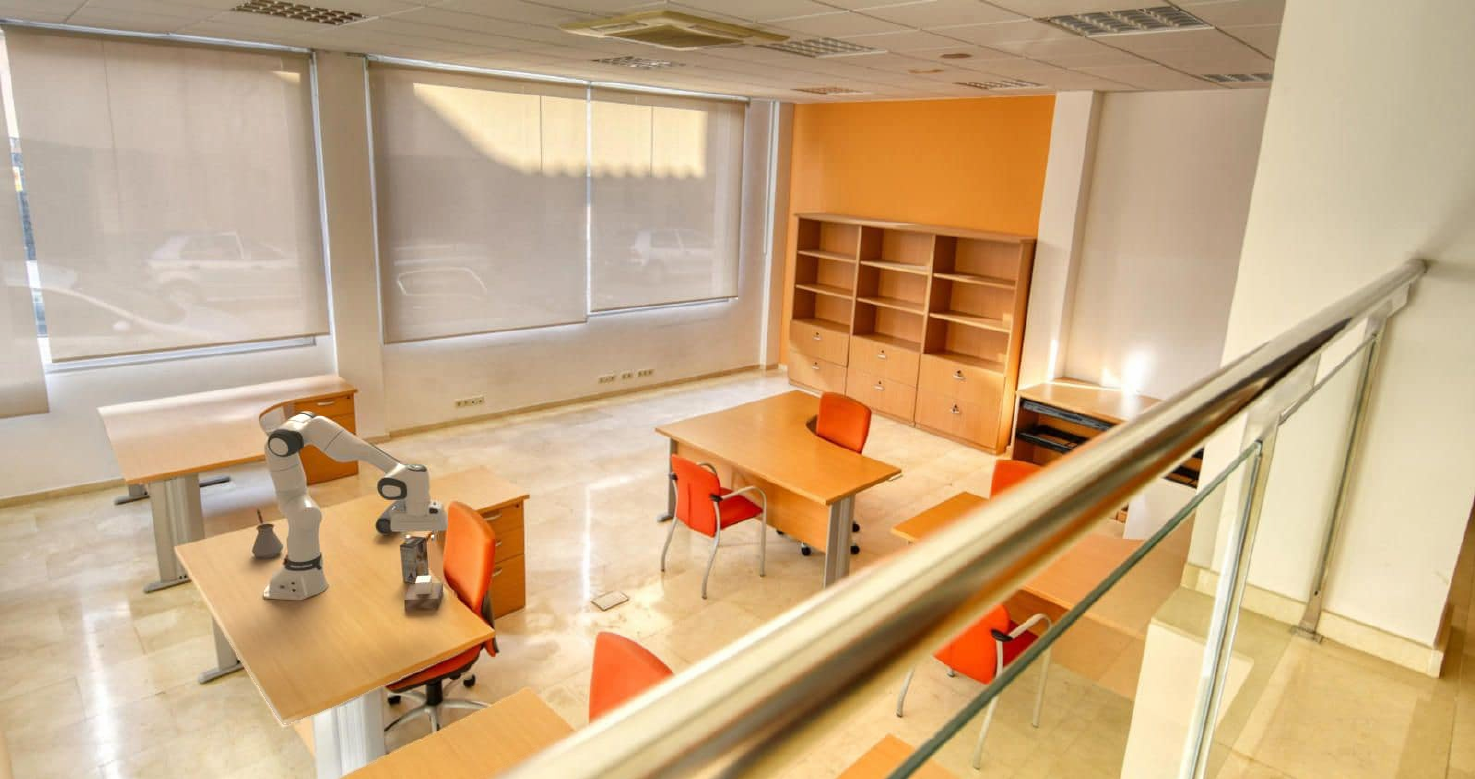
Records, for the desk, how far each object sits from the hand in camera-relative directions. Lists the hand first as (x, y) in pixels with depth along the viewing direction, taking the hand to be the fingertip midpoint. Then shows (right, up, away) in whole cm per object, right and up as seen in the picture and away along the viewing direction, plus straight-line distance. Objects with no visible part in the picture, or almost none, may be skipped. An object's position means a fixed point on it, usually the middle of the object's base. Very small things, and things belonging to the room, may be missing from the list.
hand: (420, 540), depth 327 cm
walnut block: (-1, -25, +7) cm, 26 cm away
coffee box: (-11, -19, +25) cm, 33 cm away
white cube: (-1, -20, +6) cm, 21 cm away
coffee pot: (-81, -11, +42) cm, 92 cm away
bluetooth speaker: (-36, -6, +69) cm, 78 cm away
